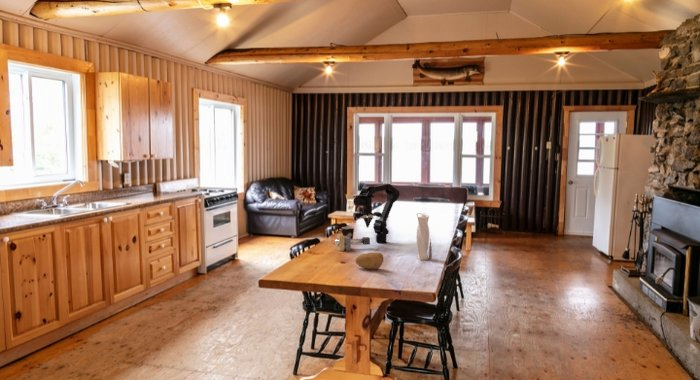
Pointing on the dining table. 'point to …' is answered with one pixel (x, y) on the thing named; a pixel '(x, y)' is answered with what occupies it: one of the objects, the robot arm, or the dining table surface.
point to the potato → (370, 260)
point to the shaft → (357, 241)
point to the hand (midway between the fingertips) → (367, 227)
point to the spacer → (340, 242)
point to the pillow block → (347, 243)
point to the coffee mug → (347, 231)
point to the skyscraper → (423, 238)
